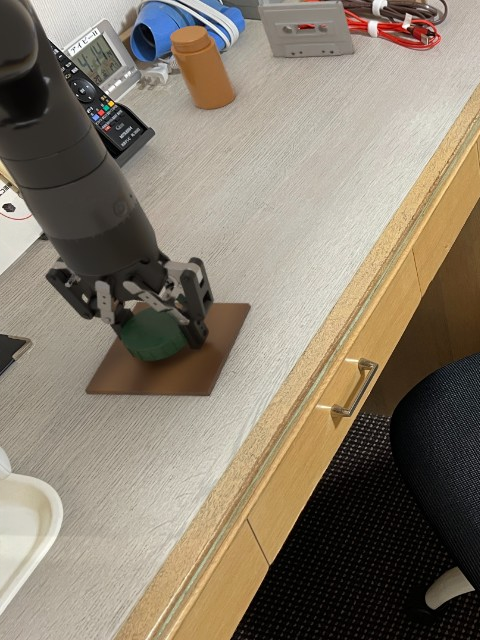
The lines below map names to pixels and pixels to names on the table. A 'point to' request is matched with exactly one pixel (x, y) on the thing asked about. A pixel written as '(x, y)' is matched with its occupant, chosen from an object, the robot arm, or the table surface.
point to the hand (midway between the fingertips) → (168, 342)
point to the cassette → (306, 40)
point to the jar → (202, 67)
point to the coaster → (173, 360)
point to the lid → (152, 335)
